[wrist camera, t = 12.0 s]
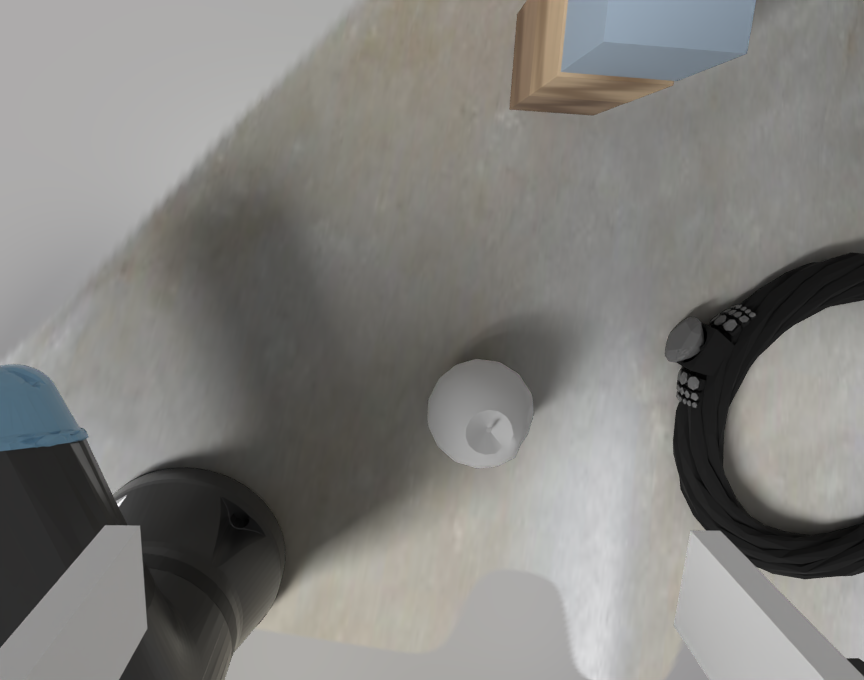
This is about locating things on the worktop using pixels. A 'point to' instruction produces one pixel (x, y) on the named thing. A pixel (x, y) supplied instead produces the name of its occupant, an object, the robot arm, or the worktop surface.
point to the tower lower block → (524, 69)
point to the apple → (480, 413)
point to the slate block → (654, 36)
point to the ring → (712, 395)
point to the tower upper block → (575, 85)
